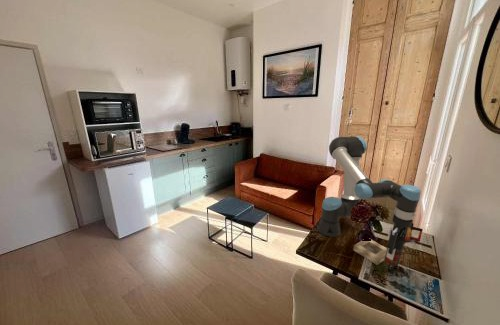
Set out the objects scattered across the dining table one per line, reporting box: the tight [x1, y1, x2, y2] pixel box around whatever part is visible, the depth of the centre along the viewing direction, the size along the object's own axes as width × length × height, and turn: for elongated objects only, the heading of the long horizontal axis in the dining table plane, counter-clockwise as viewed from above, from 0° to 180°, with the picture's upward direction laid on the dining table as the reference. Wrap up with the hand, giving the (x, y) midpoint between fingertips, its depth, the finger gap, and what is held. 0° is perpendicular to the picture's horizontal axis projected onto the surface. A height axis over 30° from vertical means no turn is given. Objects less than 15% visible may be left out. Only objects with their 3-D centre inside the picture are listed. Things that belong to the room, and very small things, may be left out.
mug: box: [392, 222, 424, 243], centre depth 132 cm, size 10×14×12 cm
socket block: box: [352, 239, 388, 266], centre depth 120 cm, size 14×14×4 cm
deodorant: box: [384, 237, 406, 267], centre depth 103 cm, size 6×6×15 cm
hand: (392, 255), depth 104 cm, fingers closed on deodorant, 6 cm apart
